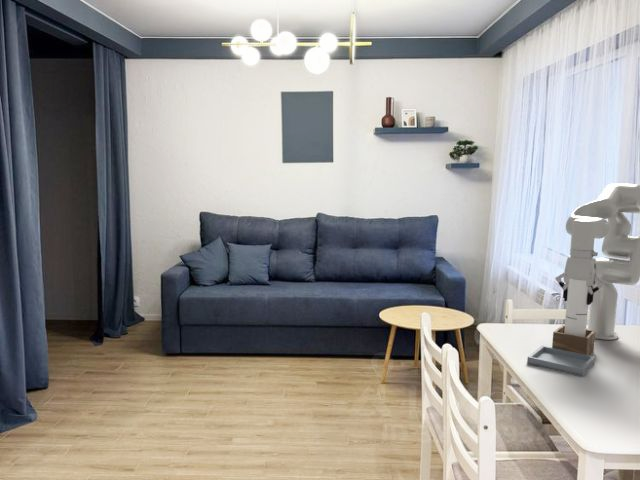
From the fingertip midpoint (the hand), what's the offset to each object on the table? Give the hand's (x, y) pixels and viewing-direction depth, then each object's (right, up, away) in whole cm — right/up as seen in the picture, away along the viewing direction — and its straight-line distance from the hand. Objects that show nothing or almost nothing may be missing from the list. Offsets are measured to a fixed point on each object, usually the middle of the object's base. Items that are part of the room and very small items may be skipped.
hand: (577, 301), depth 211 cm
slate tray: (-10, -20, -9) cm, 24 cm away
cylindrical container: (0, -16, +3) cm, 16 cm away
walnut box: (-1, -19, +2) cm, 19 cm away
